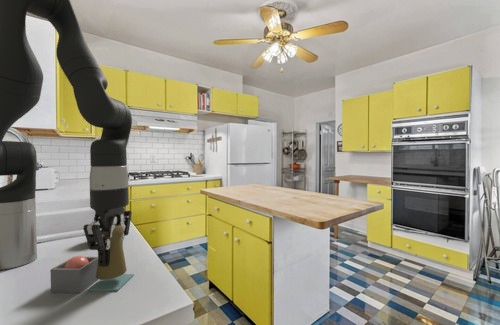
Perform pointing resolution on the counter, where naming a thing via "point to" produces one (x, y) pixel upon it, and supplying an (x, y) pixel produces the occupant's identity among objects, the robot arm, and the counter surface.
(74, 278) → the housing
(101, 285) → the tile
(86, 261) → the salmon pink ball
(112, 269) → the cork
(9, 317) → the counter surface
